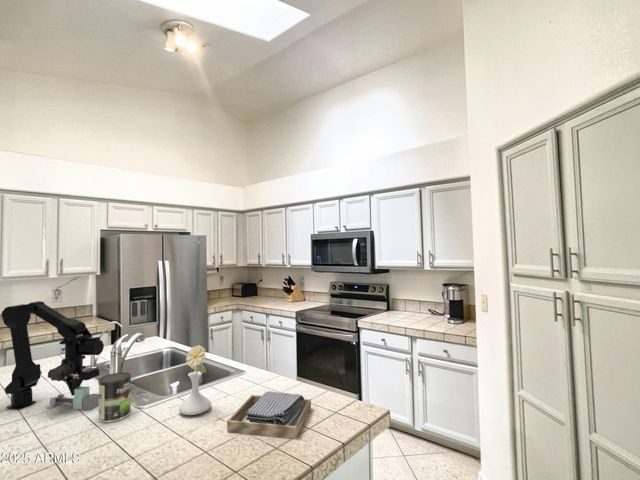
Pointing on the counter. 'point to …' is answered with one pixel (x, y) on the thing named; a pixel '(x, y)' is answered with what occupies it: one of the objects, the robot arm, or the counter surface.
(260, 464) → the counter surface
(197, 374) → the flower in vase
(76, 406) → the mint stepped block
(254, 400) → the linen tray frame
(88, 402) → the grey angular piece
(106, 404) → the coffee can
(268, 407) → the towel
